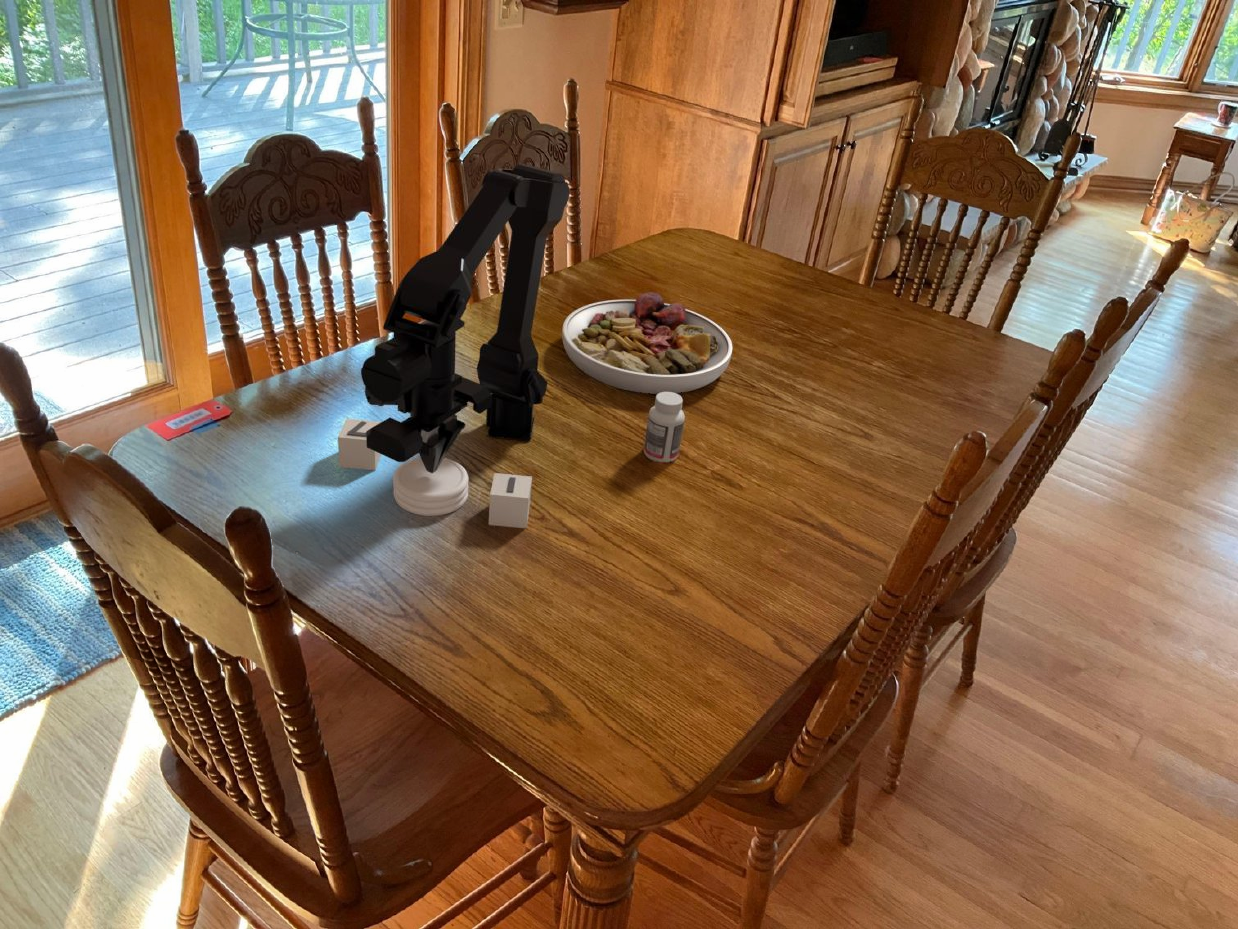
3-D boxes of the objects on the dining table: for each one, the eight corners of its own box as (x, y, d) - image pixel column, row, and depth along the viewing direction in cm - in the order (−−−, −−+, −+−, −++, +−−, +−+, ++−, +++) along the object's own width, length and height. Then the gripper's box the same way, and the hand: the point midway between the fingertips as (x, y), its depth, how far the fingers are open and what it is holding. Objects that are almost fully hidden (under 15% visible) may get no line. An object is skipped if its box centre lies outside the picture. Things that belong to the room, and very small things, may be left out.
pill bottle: (670, 442, 151) (679, 387, 146) (683, 461, 147) (693, 405, 142) (637, 446, 149) (645, 390, 144) (650, 465, 145) (659, 408, 140)
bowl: (734, 411, 162) (742, 369, 158) (554, 392, 161) (558, 349, 156) (721, 332, 187) (728, 294, 183) (566, 315, 186) (569, 277, 182)
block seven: (382, 451, 140) (382, 420, 138) (375, 470, 136) (374, 439, 133) (347, 448, 140) (346, 417, 137) (339, 467, 136) (337, 435, 133)
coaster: (386, 480, 135) (386, 459, 133) (457, 471, 139) (457, 450, 137) (402, 523, 127) (402, 501, 126) (476, 511, 131) (477, 490, 129)
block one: (529, 506, 133) (532, 475, 130) (526, 528, 129) (528, 497, 126) (493, 503, 133) (494, 471, 130) (488, 525, 129) (490, 493, 126)
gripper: (429, 324, 132) (429, 422, 141) (329, 374, 118) (336, 479, 127) (496, 350, 128) (491, 450, 137) (400, 405, 114) (402, 512, 123)
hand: (431, 471), depth 131 cm, fingers closed
